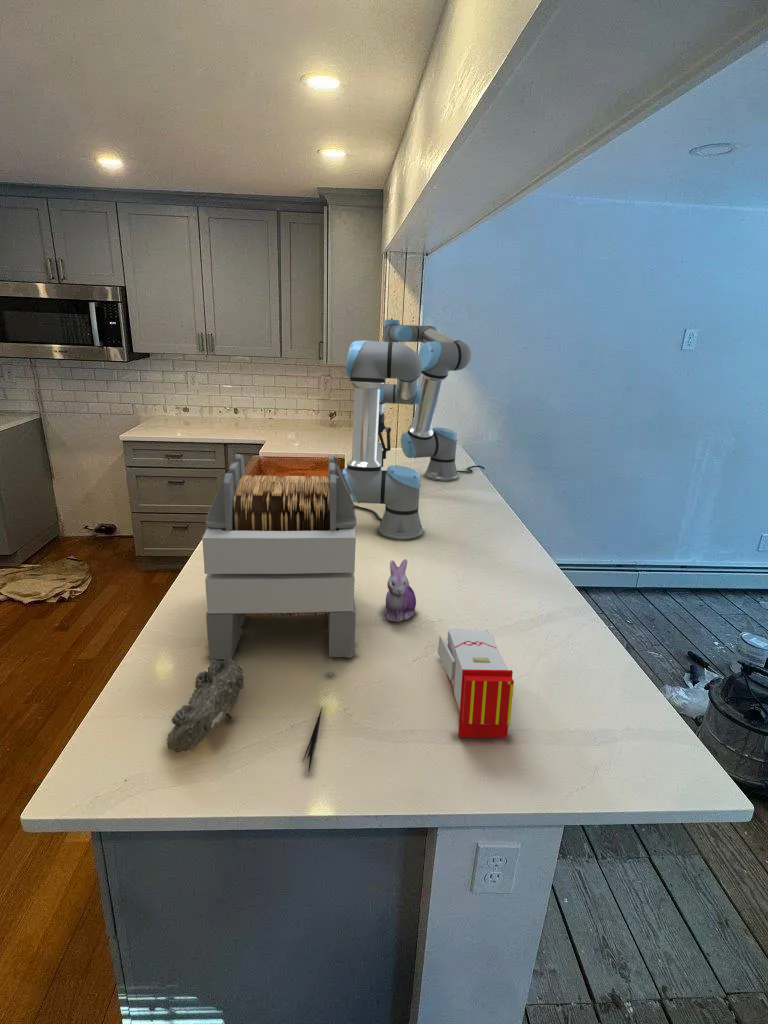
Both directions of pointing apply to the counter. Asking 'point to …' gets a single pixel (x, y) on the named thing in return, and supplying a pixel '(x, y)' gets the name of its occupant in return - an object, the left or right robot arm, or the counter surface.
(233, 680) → the fossil
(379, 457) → the cosmetic box
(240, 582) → the record storage crate
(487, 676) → the toy
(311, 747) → the feather
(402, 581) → the figurine
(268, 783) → the counter surface
